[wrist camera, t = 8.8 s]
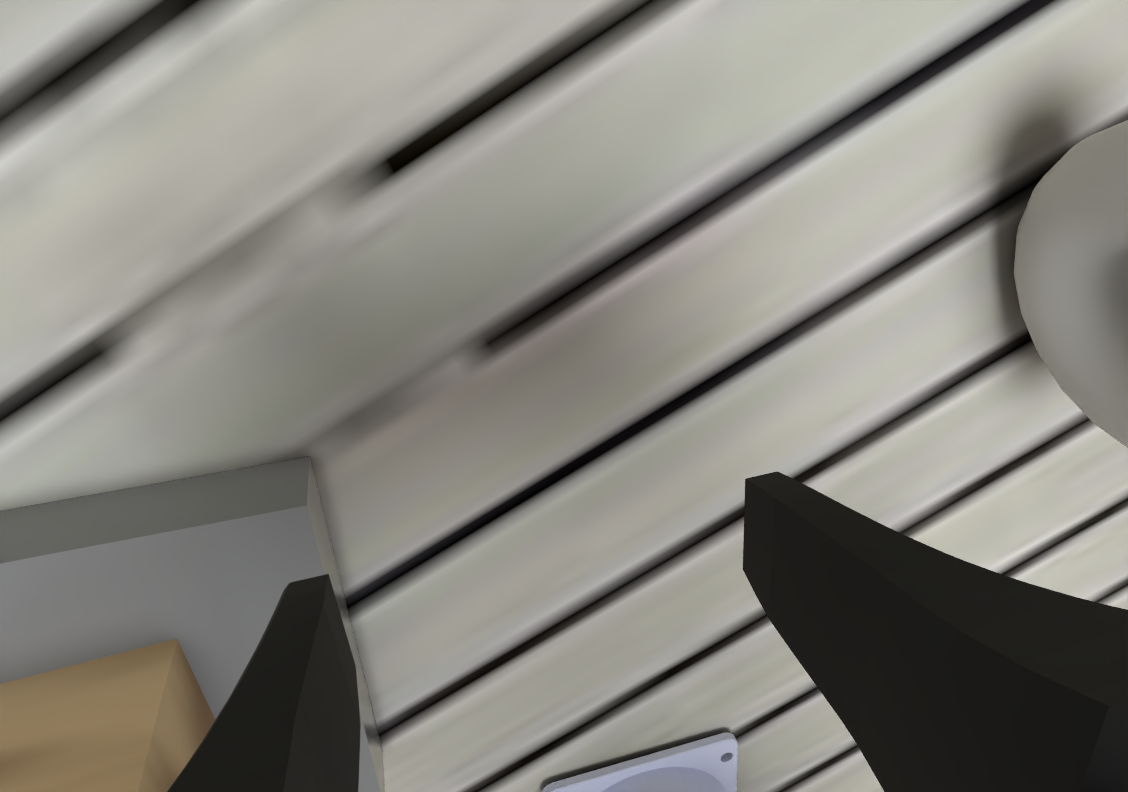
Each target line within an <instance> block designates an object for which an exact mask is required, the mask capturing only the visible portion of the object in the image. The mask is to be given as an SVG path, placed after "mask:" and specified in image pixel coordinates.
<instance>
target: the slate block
mask: <svg viewBox="0 0 1128 792" xmlns="http://www.w3.org/2000/svg"><path fill="white" fill-rule="evenodd" d="M325 574H329V577H330V580H331V584H332V587H333V590H334V594H335V597H336V601H337V604H338V607H339V611H340V614H341V618H342V621H343V624H344V628H345V631H346V635H347V638H348V641H349V645H350V648H351V652H352V655H353V658H354V662H355V665H356V674H357V686H358V697H359V711H360V724H361V729H360V760H359V786H358V792H385V785H384V768H383V751H382V746H381V742H380V738H379V734H378V730H377V726H376V722H375V718H374V714H373V710H372V706H371V702H370V698H369V694H368V690H367V685H366V681H365V677H364V673H363V669H362V665H361V661H360V657H359V653H358V649H357V645H356V641H355V637H354V633H353V629H352V625H351V621H350V617H349V613H348V609H347V605H346V601H345V597H344V593H343V589H342V584H341V580H340V576H339V572H338V568H337V564H336V560H335V556H334V552H333V548H332V544H331V540H330V536H329V532H328V528H327V524H326V520H325V516H324V512H323V508H322V504H321V500H320V496H319V492H318V487H317V483H316V479H315V475H314V471H313V467H312V463H311V459H310V456H309V457H304V458H298V459H292V460H287V461H281V462H275V463H270V464H264V465H258V466H253V467H247V468H241V469H236V470H230V471H224V472H219V473H213V474H207V475H202V476H196V477H190V478H185V479H179V480H173V481H168V482H162V483H156V484H150V485H145V486H139V487H133V488H128V489H122V490H116V491H111V492H105V493H99V494H94V495H88V496H82V497H77V498H71V499H65V500H60V501H54V502H48V503H43V504H37V505H31V506H26V507H20V508H14V509H9V510H3V511H0V684H2V683H5V682H9V681H13V680H17V679H21V678H25V677H29V676H33V675H37V674H41V673H45V672H48V671H52V670H56V669H60V668H64V667H68V666H72V665H76V664H80V663H84V662H88V661H91V660H95V659H99V658H103V657H107V656H111V655H115V654H119V653H123V652H127V651H130V650H134V649H138V648H142V647H146V646H150V645H154V644H158V643H162V642H166V641H170V640H173V639H177V640H178V642H179V644H180V646H181V648H182V650H183V652H184V654H185V657H186V659H187V661H188V663H189V665H190V667H191V669H192V671H193V673H194V676H195V678H196V680H197V682H198V684H199V686H200V688H201V690H202V692H203V695H204V697H205V699H206V701H207V703H208V705H209V707H210V709H211V711H212V714H213V716H214V718H215V720H216V718H217V716H218V715H219V713H220V712H221V710H222V708H223V707H224V705H225V703H226V702H227V700H228V699H229V697H230V695H231V693H232V692H233V690H234V688H235V686H236V685H237V683H238V681H239V679H240V677H241V675H242V674H243V672H244V670H245V668H246V666H247V664H248V663H249V661H250V659H251V657H252V655H253V653H254V652H255V650H256V648H257V646H258V644H259V642H260V640H261V638H262V636H263V634H264V632H265V630H266V628H267V626H268V624H269V621H270V619H271V617H272V615H273V613H274V611H275V609H276V606H277V604H278V602H279V600H280V598H281V595H282V593H283V591H284V589H285V588H286V587H287V585H288V584H289V583H290V582H295V581H299V580H303V579H308V578H312V577H317V576H321V575H325Z"/></svg>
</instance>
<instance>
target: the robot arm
mask: <svg viewBox="0 0 1128 792" xmlns="http://www.w3.org/2000/svg"><path fill="white" fill-rule="evenodd" d="M743 571H744V572H745V574H746V576H747V578H748V580H749V582H750V584H751V586H752V588H753V590H754V592H755V594H756V596H757V598H758V600H759V601H760V603H761V605H762V607H763V609H764V611H765V612H766V614H767V616H768V618H769V619H770V621H771V622H772V624H773V625H774V627H775V628H776V630H777V631H778V632H779V634H780V635H781V637H782V638H783V639H784V641H785V642H786V644H787V645H788V647H789V648H790V649H791V651H792V652H793V654H794V655H795V656H796V658H797V659H798V661H799V662H800V663H801V665H802V666H803V667H804V669H805V670H806V672H807V673H808V674H809V676H810V677H811V679H812V680H813V681H814V683H815V684H816V686H817V687H818V688H819V690H820V691H821V693H822V694H823V695H824V697H825V698H826V699H827V701H828V702H829V704H830V705H831V706H832V708H833V709H834V711H835V712H836V713H837V715H838V716H839V718H840V719H841V720H842V722H843V723H844V725H845V726H846V728H847V729H848V731H849V732H850V734H851V736H852V737H853V739H854V740H855V742H856V743H857V745H858V746H859V748H860V750H861V752H862V753H863V755H864V757H865V759H866V760H867V762H868V764H869V766H870V767H871V769H872V771H873V772H874V774H875V776H876V778H877V779H878V781H879V783H880V785H881V786H882V788H883V790H884V792H1128V610H1126V609H1121V608H1117V607H1112V606H1108V605H1104V604H1100V603H1096V602H1092V601H1088V600H1084V599H1080V598H1077V597H1073V596H1070V595H1066V594H1063V593H1059V592H1056V591H1052V590H1049V589H1045V588H1042V587H1039V586H1035V585H1032V584H1029V583H1026V582H1022V581H1019V580H1016V579H1013V578H1010V577H1007V576H1004V575H1001V574H999V573H996V572H993V571H990V570H988V569H985V568H982V567H980V566H977V565H974V564H971V563H969V562H966V561H963V560H961V559H958V558H956V557H953V556H951V555H948V554H946V553H943V552H941V551H939V550H937V549H934V548H932V547H930V546H927V545H925V544H923V543H921V542H918V541H916V540H914V539H912V538H909V537H907V536H905V535H903V534H901V533H899V532H896V531H894V530H892V529H890V528H888V527H886V526H884V525H882V524H880V523H878V522H876V521H874V520H872V519H870V518H868V517H866V516H864V515H862V514H860V513H858V512H856V511H854V510H852V509H850V508H848V507H846V506H844V505H842V504H840V503H839V502H837V501H835V500H833V499H831V498H829V497H827V496H825V495H823V494H821V493H819V492H818V491H816V490H814V489H812V488H810V487H808V486H806V485H804V484H802V483H800V482H798V481H796V480H794V479H792V478H790V477H788V476H786V475H784V474H782V473H779V472H773V473H769V474H764V475H760V476H756V477H751V478H747V479H745V514H744V549H743ZM360 729H361V724H360V711H359V697H358V686H357V674H356V665H355V662H354V658H353V655H352V652H351V648H350V645H349V641H348V638H347V635H346V631H345V628H344V624H343V621H342V618H341V614H340V611H339V607H338V604H337V601H336V597H335V594H334V590H333V587H332V584H331V580H330V577H329V574H325V575H321V576H317V577H312V578H308V579H303V580H299V581H295V582H290V583H289V584H288V585H287V587H286V588H285V589H284V591H283V593H282V595H281V598H280V600H279V602H278V604H277V606H276V609H275V611H274V613H273V615H272V617H271V619H270V621H269V624H268V626H267V628H266V630H265V632H264V634H263V636H262V638H261V640H260V642H259V644H258V646H257V648H256V650H255V652H254V653H253V655H252V657H251V659H250V661H249V663H248V664H247V666H246V668H245V670H244V672H243V674H242V675H241V677H240V679H239V681H238V683H237V685H236V686H235V688H234V690H233V692H232V693H231V695H230V697H229V699H228V700H227V702H226V703H225V705H224V707H223V708H222V710H221V712H220V713H219V715H218V716H217V718H216V720H215V721H214V723H213V724H212V726H211V728H210V729H209V731H208V733H207V734H206V736H205V737H204V739H203V741H202V742H201V744H200V745H199V747H198V748H197V750H196V751H195V753H194V754H193V756H192V757H191V759H190V760H189V761H188V763H187V764H186V766H185V767H184V769H183V770H182V771H181V773H180V774H179V776H178V777H177V778H176V780H175V781H174V783H173V784H172V785H171V787H170V788H169V789H168V791H167V792H358V786H359V760H360ZM737 763H738V743H737V740H736V738H735V736H734V735H733V734H732V733H721V734H718V735H714V736H711V737H707V738H704V739H701V740H697V741H694V742H690V743H687V744H683V745H680V746H676V747H673V748H670V749H666V750H663V751H659V752H656V753H652V754H649V755H645V756H642V757H639V758H635V759H632V760H628V761H625V762H621V763H618V764H614V765H611V766H608V767H604V768H601V769H597V770H594V771H590V772H587V773H583V774H580V775H577V776H573V777H570V778H566V779H563V780H559V781H556V782H552V783H550V784H548V785H547V786H545V787H544V788H543V790H542V791H541V792H737Z"/></svg>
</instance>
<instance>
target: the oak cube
mask: <svg viewBox="0 0 1128 792" xmlns="http://www.w3.org/2000/svg"><path fill="white" fill-rule="evenodd" d="M214 721H215V718H214V716H213V714H212V711H211V709H210V707H209V705H208V703H207V701H206V699H205V697H204V695H203V692H202V690H201V688H200V686H199V684H198V682H197V680H196V678H195V676H194V673H193V671H192V669H191V667H190V665H189V663H188V661H187V659H186V657H185V654H184V652H183V650H182V648H181V646H180V644H179V642H178V640H177V639H173V640H170V641H166V642H162V643H158V644H154V645H150V646H146V647H142V648H138V649H134V650H130V651H127V652H123V653H119V654H115V655H111V656H107V657H103V658H99V659H95V660H91V661H88V662H84V663H80V664H76V665H72V666H68V667H64V668H60V669H56V670H52V671H48V672H45V673H41V674H37V675H33V676H29V677H25V678H21V679H17V680H13V681H9V682H5V683H2V684H0V792H167V791H168V789H169V788H170V787H171V785H172V784H173V783H174V781H175V780H176V778H177V777H178V776H179V774H180V773H181V771H182V770H183V769H184V767H185V766H186V764H187V763H188V761H189V760H190V759H191V757H192V756H193V754H194V753H195V751H196V750H197V748H198V747H199V745H200V744H201V742H202V741H203V739H204V737H205V736H206V734H207V733H208V731H209V729H210V728H211V726H212V724H213V723H214Z"/></svg>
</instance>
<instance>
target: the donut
mask: <svg viewBox="0 0 1128 792" xmlns="http://www.w3.org/2000/svg"><path fill="white" fill-rule="evenodd" d="M1014 278H1015V283H1016V288H1017V294H1018V299H1019V305H1020V310H1021V314H1022V316H1023V319H1024V321H1025V324H1026V326H1027V328H1028V331H1029V333H1030V336H1031V338H1032V340H1033V343H1034V345H1035V348H1036V350H1037V352H1038V354H1039V355H1040V357H1041V358H1042V360H1043V361H1044V363H1045V364H1046V366H1047V368H1048V369H1049V371H1050V372H1051V374H1052V375H1053V377H1054V378H1055V380H1056V381H1057V383H1058V384H1059V386H1060V387H1061V389H1062V390H1063V391H1064V392H1065V393H1066V394H1067V395H1068V396H1069V397H1070V399H1071V400H1072V401H1073V402H1074V403H1075V404H1076V405H1077V406H1078V407H1079V408H1080V409H1081V410H1082V411H1083V412H1084V413H1085V414H1086V415H1087V417H1088V418H1089V419H1090V420H1091V421H1092V422H1093V423H1094V424H1096V425H1097V426H1098V427H1100V428H1101V429H1103V430H1104V431H1105V432H1107V433H1108V434H1109V435H1111V436H1112V437H1114V438H1115V439H1116V440H1118V441H1119V442H1120V443H1122V444H1123V445H1125V446H1126V447H1127V448H1128V120H1127V121H1124V122H1122V123H1120V124H1117V125H1115V126H1112V127H1110V128H1107V129H1105V130H1103V131H1100V132H1098V133H1095V134H1093V135H1091V136H1088V137H1087V138H1085V139H1084V140H1082V141H1081V142H1079V143H1078V144H1076V145H1075V146H1073V147H1072V148H1071V149H1070V150H1069V151H1068V152H1067V153H1066V154H1065V155H1064V156H1063V157H1062V158H1061V159H1060V160H1059V161H1058V162H1057V163H1056V164H1055V165H1054V166H1053V167H1052V168H1051V169H1050V170H1049V171H1048V172H1047V173H1046V174H1045V175H1044V176H1043V177H1042V179H1041V180H1040V181H1039V183H1038V184H1037V185H1036V187H1035V188H1034V190H1033V192H1032V194H1031V197H1030V199H1029V202H1028V204H1027V206H1026V209H1025V211H1024V214H1023V216H1022V218H1021V221H1020V223H1019V226H1018V231H1017V237H1016V250H1015V264H1014Z"/></svg>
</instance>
